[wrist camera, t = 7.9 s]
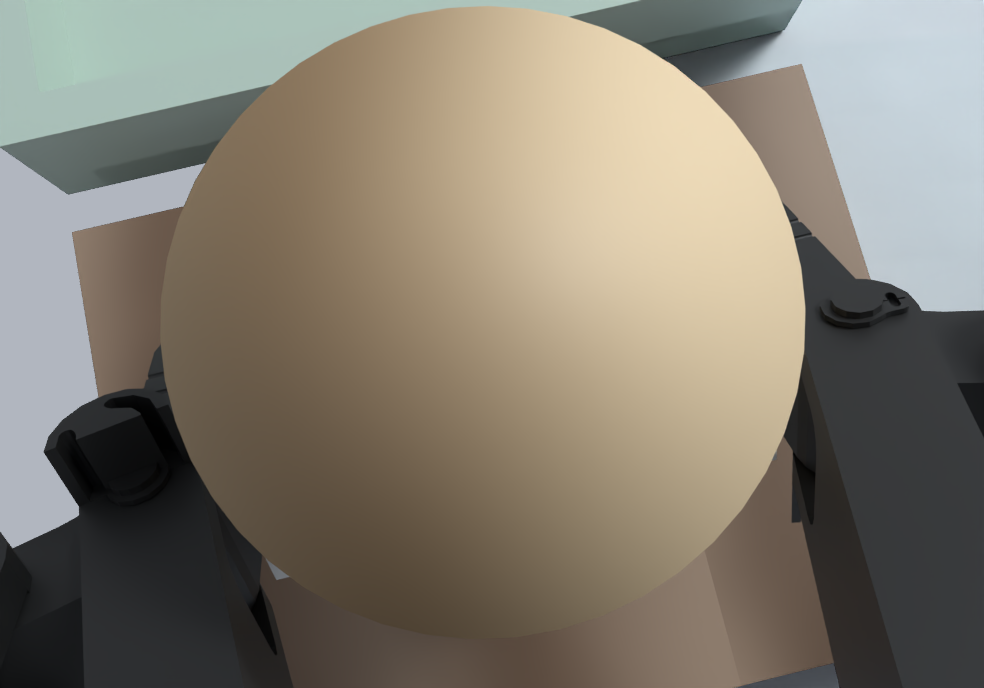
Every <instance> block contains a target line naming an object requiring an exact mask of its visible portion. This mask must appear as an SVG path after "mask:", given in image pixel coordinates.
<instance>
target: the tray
mask: <svg viewBox="0 0 984 688" xmlns="http://www.w3.org/2000/svg"><path fill="white" fill-rule="evenodd" d="M801 1H802V0H0V148H2V149H3V150H5V151H6V152H8V153H9V154H10V155H12V156H13V157H15V158H16V159H18V160H19V161H21V162H22V163H23V164H25V165H26V166H28V167H29V168H31V169H32V170H34V171H35V172H37V173H38V174H39V175H41V176H42V177H44V178H45V179H46V180H48V181H49V182H51V183H52V184H54V185H55V186H57V187H58V188H59V189H61V190H62V191H64V192H65V193H67V194H73V193H77V192H81V191H86V190H90V189H95V188H99V187H103V186H108V185H111V184H116V183H121V182H125V181H129V180H134V179H138V178H142V177H147V176H151V175H155V174H160V173H164V172H168V171H173V170H177V169H182V168H186V167H190V166H195V165H199V164H203V163H206V162H207V160H208V159H209V157H210V155H211V154H212V152H213V150H214V149H215V147H216V146H217V144H218V143H219V142H220V141H221V139H222V138H223V137H224V135H225V134H226V133H227V132H228V130H229V129H230V128H231V126H232V125H233V124H234V123H235V121H236V120H237V119H238V118H239V116H240V115H241V114H242V113H243V112H244V111H245V110H246V109H247V108H248V107H249V106H250V105H251V104H252V103H253V102H254V101H255V100H256V99H257V98H258V97H259V96H260V95H261V94H262V93H263V92H264V91H265V90H266V89H267V88H268V87H270V86H271V85H272V84H273V83H275V82H276V81H277V80H279V79H280V78H281V77H282V76H284V75H285V74H286V73H288V72H289V71H290V70H291V69H293V68H294V67H295V66H297V65H298V64H299V63H301V62H302V61H304V60H306V59H307V58H309V57H311V56H312V55H314V54H316V53H317V52H319V51H321V50H323V49H324V48H326V47H328V46H329V45H331V44H333V43H334V42H337V41H339V40H341V39H343V38H346V37H348V36H350V35H352V34H355V33H357V32H359V31H361V30H364V29H366V28H368V27H371V26H374V25H377V24H380V23H384V22H387V21H390V20H394V19H397V18H400V17H403V16H407V15H411V14H417V13H423V12H428V11H434V10H440V9H445V8H458V7H477V6H496V7H511V8H526V9H532V10H537V11H542V12H548V13H553V14H558V15H563V16H568V17H571V18H574V19H577V20H580V21H583V22H586V23H589V24H592V25H596V26H599V27H602V28H605V29H607V30H609V31H611V32H613V33H615V34H618V35H620V36H622V37H624V38H626V39H628V40H631V41H633V42H635V43H637V44H639V45H641V46H643V47H644V48H646V49H648V50H649V51H651V52H652V53H654V54H656V55H657V56H659V57H660V58H665V57H669V56H673V55H678V54H682V53H687V52H691V51H695V50H700V49H704V48H708V47H713V46H717V45H721V44H726V43H730V42H734V41H739V40H743V39H747V38H752V37H756V36H761V35H765V34H769V33H774V32H778V31H782V30H785V28H786V27H787V25H788V23H789V22H790V20H791V18H792V16H793V15H794V13H795V11H796V10H797V8H798V6H799V5H800V3H801Z"/></svg>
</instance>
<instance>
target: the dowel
mask: <svg viewBox="0 0 984 688" xmlns="http://www.w3.org/2000/svg"><path fill="white" fill-rule="evenodd" d="M804 340H805V300H804V290H803V280H802V271H801V265H800V261H799V256H798V252H797V248H796V244H795V240H794V236H793V232H792V228H791V225H790V222H789V220H788V217H787V215H786V212H785V209H784V207H783V204H782V202H781V199H780V197H779V194H778V191H777V189H776V187H775V185H774V183H773V182H772V180H771V178H770V176H769V174H768V173H767V171H766V169H765V167H764V165H763V163H762V162H761V160H760V158H759V156H758V154H757V153H756V151H755V150H754V149H753V147H752V146H751V144H750V143H749V142H748V140H747V139H746V138H745V136H744V135H743V134H742V132H741V131H740V129H739V128H738V127H737V125H736V124H735V123H734V121H733V120H732V119H731V118H730V117H729V116H728V115H727V114H726V113H725V112H724V111H723V110H722V109H721V107H720V106H719V105H718V104H717V103H716V102H715V101H714V100H713V99H712V98H711V97H710V96H709V95H708V94H707V93H706V92H705V91H704V90H703V89H702V88H700V87H699V86H698V85H697V84H695V83H694V82H693V81H692V80H691V79H689V78H688V77H687V76H686V75H684V74H683V73H682V72H681V71H680V70H678V69H677V68H676V67H675V66H673V65H672V64H670V63H668V62H667V61H665V60H664V59H662V58H660V57H659V56H657V55H656V54H654V53H652V52H651V51H649V50H648V49H646V48H644V47H643V46H641V45H639V44H637V43H635V42H633V41H631V40H628V39H626V38H624V37H622V36H620V35H618V34H615V33H613V32H611V31H609V30H607V29H605V28H602V27H599V26H596V25H592V24H589V23H586V22H583V21H580V20H577V19H574V18H571V17H568V16H563V15H558V14H553V13H548V12H542V11H537V10H532V9H526V8H511V7H496V6H477V7H458V8H445V9H440V10H434V11H428V12H423V13H417V14H411V15H407V16H403V17H400V18H397V19H394V20H390V21H387V22H384V23H380V24H377V25H374V26H371V27H368V28H366V29H364V30H361V31H359V32H357V33H355V34H352V35H350V36H348V37H346V38H343V39H341V40H339V41H337V42H334V43H333V44H331V45H329V46H328V47H326V48H324V49H323V50H321V51H319V52H317V53H316V54H314V55H312V56H311V57H309V58H307V59H306V60H304V61H302V62H301V63H299V64H298V65H297V66H295V67H294V68H293V69H291V70H290V71H289V72H288V73H286V74H285V75H284V76H282V77H281V78H280V79H279V80H277V81H276V82H275V83H273V84H272V85H271V86H270V87H268V88H267V89H266V90H265V91H264V92H263V93H262V94H261V95H260V96H259V97H258V98H257V99H256V100H255V101H254V102H253V103H252V104H251V105H250V106H249V107H248V108H247V109H246V110H245V111H244V112H243V113H242V114H241V115H240V116H239V118H238V119H237V120H236V121H235V123H234V124H233V125H232V126H231V128H230V129H229V130H228V132H227V133H226V134H225V135H224V137H223V138H222V139H221V141H220V142H219V143H218V144H217V146H216V147H215V149H214V150H213V152H212V154H211V155H210V157H209V159H208V160H207V162H206V164H205V165H204V167H203V169H202V171H201V172H200V174H199V175H198V177H197V179H196V180H195V182H194V184H193V187H192V189H191V191H190V194H189V196H188V198H187V201H186V203H185V205H184V207H183V210H182V212H181V214H180V217H179V219H178V222H177V226H176V229H175V233H174V236H173V240H172V243H171V247H170V250H169V253H168V257H167V263H166V269H165V276H164V282H163V289H162V295H161V326H160V342H161V350H162V359H163V368H164V377H165V383H166V387H167V391H168V395H169V399H170V403H171V407H172V411H173V414H174V418H175V422H176V424H177V427H178V429H179V432H180V434H181V437H182V439H183V442H184V444H185V447H186V449H187V452H188V454H189V457H190V459H191V461H192V463H193V465H194V466H195V468H196V470H197V472H198V473H199V475H200V477H201V479H202V480H203V482H204V484H205V486H206V487H207V489H208V491H209V493H210V494H211V496H212V498H213V499H214V500H215V502H216V503H217V504H218V505H219V507H220V508H221V509H222V511H223V512H224V513H225V515H226V516H227V517H228V518H229V520H230V521H231V522H232V524H233V525H234V526H235V528H236V529H237V530H238V531H239V532H240V533H241V534H242V535H243V536H244V537H245V538H246V539H247V540H248V541H249V542H250V543H251V544H252V545H253V546H254V547H255V548H256V549H257V550H258V551H259V552H260V553H261V554H262V555H263V556H264V557H265V558H266V559H267V560H268V561H269V562H271V563H272V564H273V565H275V566H276V567H277V568H279V569H280V570H281V571H283V572H284V573H285V574H287V575H288V576H289V577H291V578H292V579H293V580H295V581H296V582H297V583H299V584H300V585H301V586H303V587H304V588H306V589H308V590H309V591H311V592H313V593H315V594H317V595H318V596H320V597H322V598H324V599H326V600H327V601H329V602H331V603H333V604H335V605H337V606H338V607H340V608H342V609H345V610H347V611H350V612H352V613H355V614H357V615H360V616H363V617H365V618H368V619H370V620H373V621H376V622H378V623H381V624H383V625H387V626H392V627H396V628H400V629H404V630H409V631H413V632H417V633H421V634H426V635H434V636H445V637H455V638H465V639H485V638H510V637H520V636H526V635H531V634H537V633H543V632H548V631H554V630H559V629H563V628H566V627H569V626H572V625H575V624H578V623H581V622H585V621H588V620H591V619H594V618H597V617H600V616H603V615H605V614H607V613H609V612H611V611H613V610H616V609H618V608H620V607H622V606H624V605H626V604H628V603H630V602H632V601H634V600H636V599H638V598H640V597H642V596H644V595H646V594H647V593H649V592H650V591H652V590H653V589H655V588H656V587H658V586H659V585H661V584H662V583H664V582H665V581H667V580H668V579H670V578H671V577H673V576H674V575H676V574H677V573H679V572H680V571H682V570H683V569H684V568H685V567H686V566H687V565H688V564H689V563H691V562H692V561H693V560H694V559H695V558H696V557H697V556H699V555H700V554H701V553H702V552H703V551H704V550H705V549H707V548H708V547H709V546H710V545H711V544H712V543H713V542H714V541H715V540H716V539H717V538H718V537H719V535H720V534H721V533H722V532H723V531H724V530H725V528H726V527H727V526H728V525H729V524H730V523H731V522H732V520H733V519H734V518H735V517H736V516H737V515H738V513H739V512H740V511H741V510H742V509H743V507H744V506H745V504H746V503H747V501H748V499H749V498H750V496H751V495H752V493H753V492H754V490H755V489H756V487H757V486H758V484H759V483H760V481H761V479H762V478H763V476H764V475H765V473H766V471H767V469H768V467H769V465H770V463H771V461H772V459H773V457H774V454H775V452H776V450H777V448H778V446H779V444H780V442H781V440H782V437H783V435H784V433H785V430H786V427H787V423H788V420H789V417H790V414H791V411H792V407H793V404H794V401H795V398H796V395H797V390H798V384H799V378H800V373H801V367H802V361H803V355H804Z"/></svg>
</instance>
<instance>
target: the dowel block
mask: <svg viewBox="0 0 984 688" xmlns="http://www.w3.org/2000/svg"><path fill="white" fill-rule="evenodd" d="M700 88H702V89H703V90H704V91H705V92H706V93H707V94H708V95H709V96H710V97H711V98H712V99H713V100H714V101H715V102H716V103H717V104H718V105H719V106H720V107H721V109H722V110H723V111H724V112H725V113H726V114H727V115H728V116H729V117H730V118H731V119H732V120H733V121H734V123H735V124H736V125H737V127H738V128H739V129H740V131H741V132H742V134H743V135H744V136H745V138H746V139H747V140H748V142H749V143H750V144H751V146H752V147H753V149H754V150H755V151H756V153H757V154H758V156H759V158H760V160H761V162H762V163H763V165H764V167H765V169H766V171H767V173H768V174H769V176H770V178H771V180H772V182H773V183H774V185H775V187H776V189H777V191H778V194H779V197H780V199H781V201H782V202H783V203H784V204H785V205H786V206H787V207H788V208H789V209H790V210H791V211H792V212H793V213H794V214H795V215H796V217H797V218H798V221H799V222H802V223H803V224H804V225H805V226H806V227H807V228H808V229H809V230H810V231H811V232H812V236H816V238H817V239H818V240H819V241H820V242H821V243H822V244H823V245H824V246H825V247H826V248H827V249H828V250H829V251H830V252H831V253H832V254H833V255H834V256H835V258H836V259H837V260H838V261H839V262H840V263H841V264H842V265H843V266H844V267H845V268H846V269H847V270H848V271H849V272H850V273H851V274H852V275H853V276H854V277H855V279H870V276H869V273H868V270H867V267H866V264H865V260H864V257H863V254H862V251H861V248H860V245H859V242H858V239H857V235H856V232H855V229H854V226H853V223H852V220H851V217H850V214H849V210H848V207H847V204H846V201H845V198H844V195H843V192H842V188H841V185H840V182H839V179H838V176H837V173H836V170H835V167H834V163H833V160H832V157H831V154H830V151H829V148H828V145H827V142H826V138H825V135H824V132H823V129H822V126H821V123H820V120H819V117H818V113H817V110H816V107H815V104H814V101H813V98H812V95H811V91H810V88H809V85H808V82H807V79H806V76H805V73H804V70H803V66H802V64H799V65H795V66H790V67H786V68H782V69H777V70H773V71H769V72H764V73H760V74H756V75H751V76H747V77H743V78H738V79H734V80H730V81H725V82H721V83H717V84H712V85H708V86H704V87H700ZM182 210H183V207H179V208H176V209H171V210H166V211H162V212H158V213H153V214H149V215H145V216H141V217H136V218H132V219H127V220H123V221H119V222H115V223H110V224H106V225H101V226H97V227H93V228H88V229H84V230H80V231H75V232H72V235H73V241H74V248H75V254H76V260H77V267H78V273H79V279H80V285H81V291H82V297H83V304H84V310H85V316H86V322H87V328H88V335H89V341H90V347H91V353H92V359H93V366H94V371H95V378H96V384H97V389H98V396H99V397H101V396H103V395H106V394H110V393H113V392H117V391H121V390H124V389H141V388H144V386H145V382H146V380H148V372H149V368H150V365H151V362H152V358H153V355H154V352H155V351H156V349H157V348H158V347H159V346H160V345H161V342H160V326H161V295H162V289H163V282H164V276H165V269H166V263H167V257H168V253H169V250H170V247H171V243H172V240H173V236H174V233H175V229H176V226H177V222H178V219H179V217H180V214H181V212H182ZM870 280H871V279H870ZM792 462H793V450H792V449H791V447H790V446H789V444H788V442H787V441H786V439H785V438H784V436H783V437H782V440H781V442H780V444H779V446H778V448H777V460H773V461H771V463H770V465H769V467H768V469H767V471H766V473H765V475H764V476H763V478H762V479H761V481H760V483H759V484H758V486H757V487H756V489H755V490H754V492H753V493H752V495H751V496H750V498H749V499H748V501H747V503H746V504H745V506H744V507H743V509H742V510H741V511H740V512H739V513H738V515H737V516H736V517H735V518H734V519H733V520H732V522H731V523H730V524H729V525H728V526H727V527H726V528H725V530H724V531H723V532H722V533H721V534H720V535H719V537H718V538H717V539H716V540H715V541H714V542H713V543H712V544H711V545H710V546H709V547H708V548H707V549H705V550H704V551H703V552H702V553H701V554H700V555H699V556H697V557H696V558H695V559H694V560H693V561H692V562H691V563H689V564H688V565H687V566H686V567H685V568H684V569H683V570H682V571H680V572H679V573H677V574H676V575H674V576H673V577H671V578H670V579H668V580H667V581H665V582H664V583H662V584H661V585H659V586H658V587H656V588H655V589H653V590H652V591H650V592H649V593H647V594H646V595H644V596H642V597H640V598H638V599H636V600H634V601H632V602H630V603H628V604H626V605H624V606H622V607H620V608H618V609H616V610H613V611H611V612H609V613H607V614H605V615H603V616H600V617H597V618H594V619H591V620H588V621H585V622H581V623H578V624H575V625H572V626H569V627H566V628H563V629H559V630H554V631H548V632H543V633H537V634H531V635H526V636H520V637H510V638H485V639H465V638H455V637H445V636H434V635H426V634H421V633H417V632H413V631H409V630H404V629H400V628H396V627H392V626H387V625H383V624H381V623H378V622H376V621H373V620H370V619H368V618H365V617H363V616H360V615H357V614H355V613H352V612H350V611H347V610H345V609H342V608H340V607H338V606H337V605H335V604H333V603H331V602H329V601H327V600H326V599H324V598H322V597H320V596H318V595H317V594H315V593H313V592H311V591H309V590H308V589H306V588H304V587H303V586H301V585H300V584H299V583H297V582H296V581H295V580H293V579H292V578H291V577H287V578H283V579H279V580H276V578H275V576H274V574H273V572H272V570H271V568H270V566H269V564H268V562H267V560H266V558H265V557H264V556H263V555H262V562H261V574H260V584H261V586H262V588H263V590H264V591H265V593H266V595H267V597H268V599H269V601H270V603H271V605H272V608H273V612H274V615H275V619H276V623H277V627H278V631H279V634H280V638H281V642H282V646H283V649H284V653H285V657H286V661H287V665H288V668H289V672H290V676H291V680H292V684H293V687H294V688H735V687H739V686H743V685H747V684H751V683H755V682H759V681H763V680H767V679H771V678H775V677H779V676H783V675H787V674H791V673H795V672H799V671H803V670H807V669H811V668H815V667H820V666H824V665H828V664H832V663H834V661H833V656H832V652H831V648H830V643H829V639H828V635H827V630H826V626H825V621H824V617H823V613H822V608H821V604H820V600H819V595H818V591H817V586H816V582H815V578H814V573H813V569H812V564H811V560H810V556H809V551H808V547H807V543H806V538H805V534H804V529H803V525H802V521H801V522H799V523H792Z"/></svg>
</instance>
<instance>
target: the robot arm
mask: <svg viewBox="0 0 984 688" xmlns="http://www.w3.org/2000/svg"><path fill="white" fill-rule="evenodd" d="M781 202H782V201H781ZM782 204H783V207H784V209H785V212H786V215H787V217H788V220H789V222H790V225H791V228H792V232H793V236H794V240H795V244H796V248H797V252H798V256H799V261H800V265H801V271H802V280H803V290H804V300H805V340H804V355H803V361H802V367H801V373H800V378H799V384H798V390H797V395H796V398H795V401H794V404H793V407H792V411H791V414H790V417H789V420H788V423H787V427H786V430H785V433H784V435H783V436H784V438H785V439H786V441H787V442H788V444H789V446H790V447H791V449H792V450H793V462H792V523H799V522H801V521H802V525H803V529H804V534H805V538H806V543H807V547H808V551H809V556H810V560H811V564H812V569H813V573H814V578H815V582H816V586H817V591H818V595H819V600H820V604H821V608H822V613H823V617H824V621H825V626H826V630H827V635H828V639H829V643H830V648H831V652H832V656H833V661H834V665H835V670H836V674H837V678H838V683H839V687H840V688H984V311H955V312H935V311H921V309H920V307H919V305H918V304H917V303H916V301H915V300H914V299H913V298H912V297H911V296H910V295H909V294H908V293H907V292H905V291H903V290H901V289H899V288H897V287H895V286H893V285H891V284H888V283H884V282H879V281H875V280H870V279H855V277H854V276H853V275H852V274H851V273H850V272H849V271H848V270H847V269H846V268H845V267H844V266H843V265H842V264H841V263H840V262H839V261H838V260H837V259H836V258H835V256H834V255H833V254H832V253H831V252H830V251H829V250H828V249H827V248H826V247H825V246H824V245H823V244H822V243H821V242H820V241H819V240H818V239H817V238H816V236H812V232H811V231H810V230H809V229H808V228H807V227H806V226H805V225H804V224H803V223H802V222H799V221H798V218H797V217H796V215H795V214H794V213H793V212H792V211H791V210H790V209H789V208H788V207H787V206H786V205H785V204H784V203H783V202H782ZM44 453H45V455H46V456H47V458H48V460H49V461H50V463H51V464H52V466H53V467H54V469H55V470H56V472H57V473H58V475H59V476H60V478H61V480H62V481H63V483H64V484H65V486H66V487H67V489H68V490H69V492H70V493H71V495H72V497H73V498H74V499H75V501H76V503H77V504H78V506H79V516H78V517H76V518H74V519H73V520H71V521H69V522H67V523H65V524H63V525H61V526H60V527H58V528H56V529H53V530H51V531H49V532H47V533H45V534H43V535H41V536H38V537H36V538H34V539H32V540H30V541H28V542H26V543H23V544H21V545H19V546H17V547H15V548H13V549H12V547H11V546H10V544H9V543H8V542H7V541H6V539H5V538H4V536H3V535H2V534H1V532H0V688H294V687H293V684H292V680H291V676H290V672H289V668H288V665H287V661H286V657H285V653H284V649H283V646H282V642H281V638H280V634H279V631H278V627H277V623H276V619H275V615H274V612H273V608H272V605H271V603H270V601H269V599H268V597H267V595H266V593H265V591H264V590H263V588H262V586H261V584H260V574H261V562H262V554H261V553H260V552H259V551H258V550H257V549H256V548H255V547H254V546H253V545H252V544H251V543H250V542H249V541H248V540H247V539H246V538H245V537H244V536H243V535H242V534H241V533H240V532H239V531H238V530H237V529H236V528H235V526H234V525H233V524H232V522H231V521H230V520H229V518H228V517H227V516H226V515H225V513H224V512H223V511H222V509H221V508H220V507H219V505H218V504H217V503H216V502H215V500H214V499H213V498H212V496H211V494H210V493H209V491H208V489H207V487H206V486H205V484H204V482H203V480H202V479H201V477H200V475H199V473H198V472H197V470H196V468H195V466H194V465H193V463H192V461H191V459H190V457H189V454H188V452H187V449H186V447H185V444H184V442H183V439H182V437H181V434H180V432H179V429H178V427H177V424H176V422H175V418H174V414H173V411H172V407H171V403H170V399H169V395H168V391H167V387H166V383H165V377H164V368H163V359H162V350H161V345H160V346H159V347H158V348H157V349H156V351H155V352H154V355H153V358H152V362H151V365H150V368H149V372H148V380H146V382H145V386H144V388H141V389H124V390H121V391H117V392H113V393H110V394H106V395H103V396H101V397H99V398H97V399H95V400H93V401H91V402H89V403H87V404H85V405H82V406H81V407H79V408H78V409H77V410H75V411H74V412H73V413H71V414H70V415H69V416H67V417H66V418H65V419H63V420H62V421H61V422H60V424H59V425H58V426H57V427H56V428H55V430H54V431H53V432H52V433H51V434H50V436H49V437H48V440H47V444H46V446H45V450H44ZM773 460H777V450H776V452H775V454H774V457H773V459H772V461H773ZM266 560H267V559H266ZM267 562H268V564H269V566H270V568H271V570H272V572H273V574H274V576H275V578H276V580H279V579H283V578H287V577H289V576H288V575H287V574H285V573H284V572H283V571H281V570H280V569H279V568H277V567H276V566H275V565H273V564H272V563H271V562H269V561H268V560H267Z"/></svg>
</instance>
